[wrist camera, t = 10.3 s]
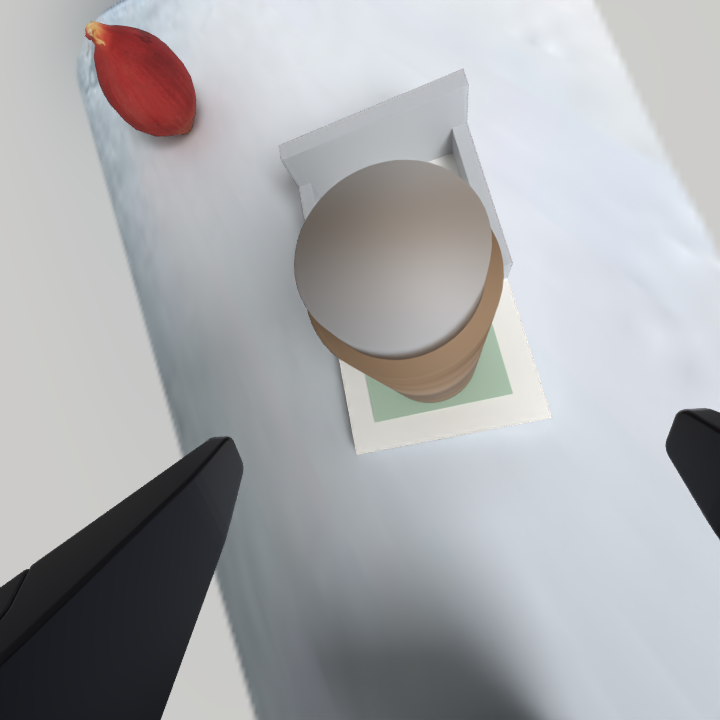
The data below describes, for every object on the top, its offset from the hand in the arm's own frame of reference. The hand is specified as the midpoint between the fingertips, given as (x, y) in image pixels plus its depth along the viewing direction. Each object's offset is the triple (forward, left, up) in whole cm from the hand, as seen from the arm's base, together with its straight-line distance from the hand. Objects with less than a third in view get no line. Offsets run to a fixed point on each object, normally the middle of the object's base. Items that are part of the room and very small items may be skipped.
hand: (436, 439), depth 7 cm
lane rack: (+8, +1, -12) cm, 15 cm away
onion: (+24, +19, -12) cm, 33 cm away
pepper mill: (+4, +1, -11) cm, 12 cm away
